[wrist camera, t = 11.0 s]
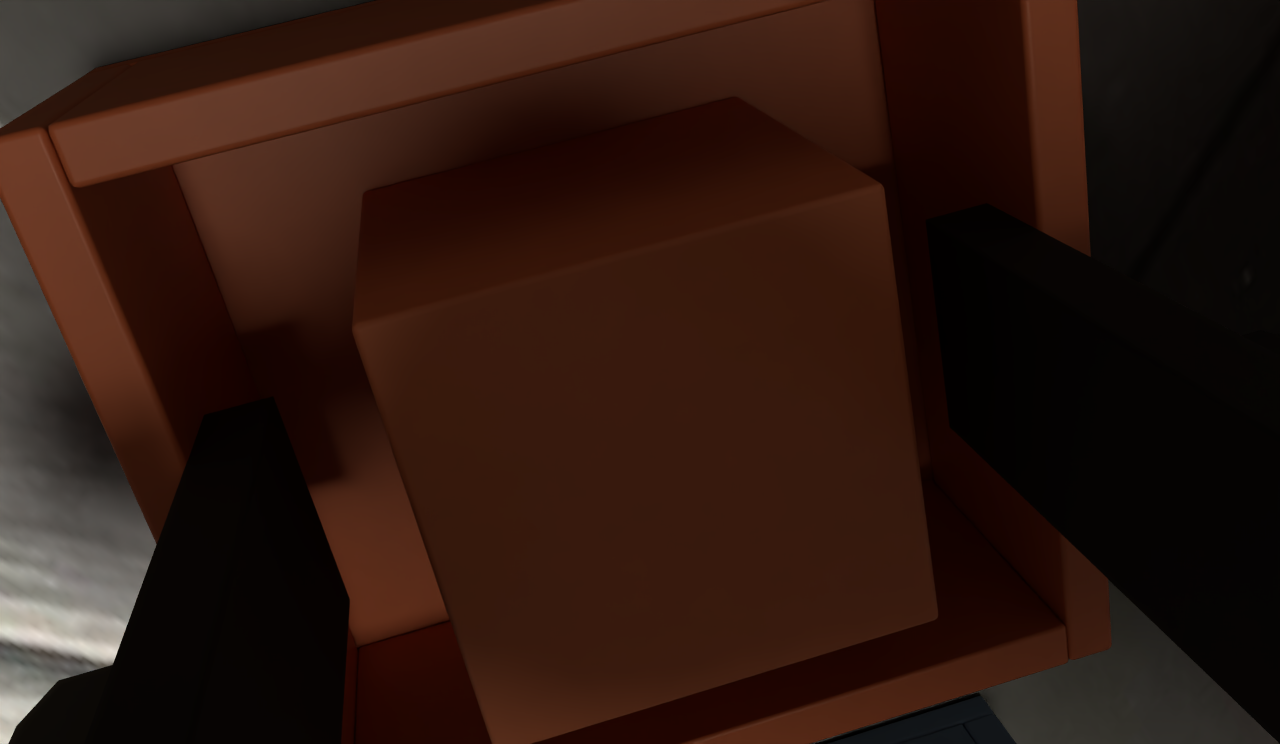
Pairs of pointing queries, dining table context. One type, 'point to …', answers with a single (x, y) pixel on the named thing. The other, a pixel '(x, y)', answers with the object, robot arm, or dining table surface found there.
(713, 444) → the terracotta block
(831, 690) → the terracotta bin
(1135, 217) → the dining table surface
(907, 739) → the slate-blue bin
